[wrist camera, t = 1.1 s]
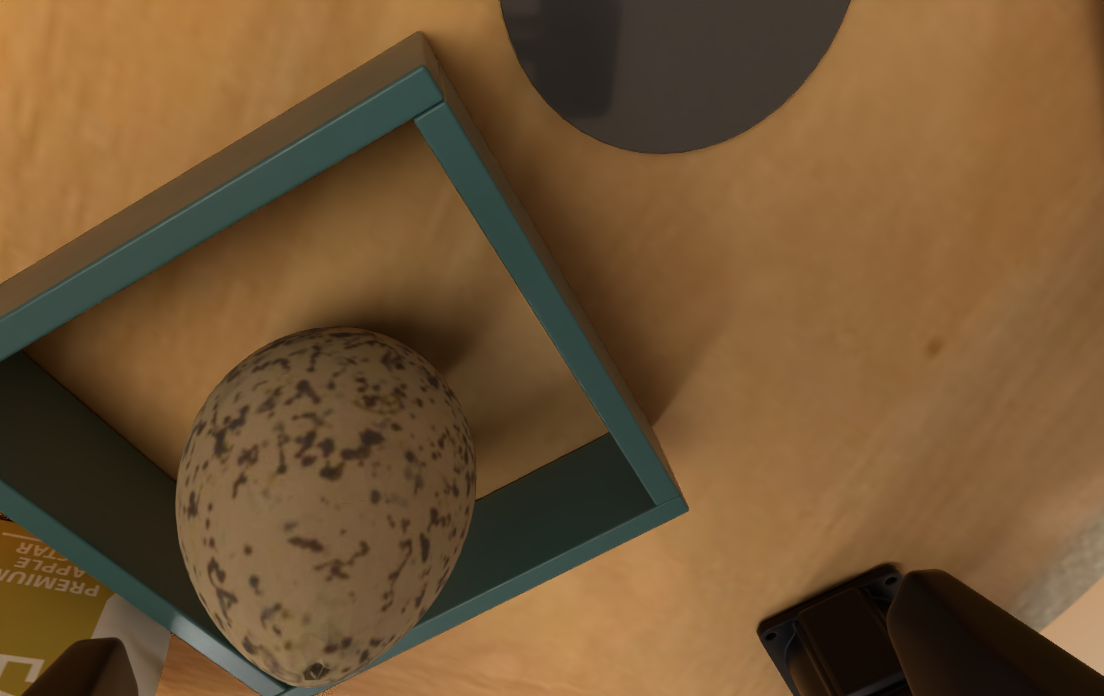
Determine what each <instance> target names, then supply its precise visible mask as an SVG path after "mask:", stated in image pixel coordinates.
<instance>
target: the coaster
mask: <svg viewBox="0 0 1104 696" xmlns="http://www.w3.org/2000/svg"><path fill="white" fill-rule="evenodd" d="M498 1H499V7H500V12H501V16H502V20H503V23H504V26H505V30H506V33H507V36H508V40H509V42H510V44H511V46H512V49H513V51H514V53H515V55H516V58H517V60H518V62H519V64H520V65H521V67H522V69H523V70H524V72H525V74H526V75H527V77H528V79H529V80H530V82H531V84H532V85H533V86H534V88H535V89H536V90H537V91H538V93H539V94H540V95H541V96H542V98H543V99H544V100H545V101H546V103H547V104H548V105H549V106H550V107H551V108H552V109H554V110H555V111H556V112H557V113H558V114H559V115H560V116H561V117H562V118H563V119H564V120H566V121H567V122H568V123H570V124H571V125H573V126H574V127H575V128H577V129H578V130H580V131H581V132H583V133H585V134H587V135H589V136H591V137H592V138H594V139H596V140H598V141H600V142H603V143H606V144H609V145H611V146H614V147H617V148H620V149H625V150H630V151H635V152H639V153H653V154H669V153H682V152H687V151H692V150H697V149H702V148H706V147H709V146H711V145H714V144H717V143H720V142H723V141H726V140H728V139H730V138H732V137H734V136H736V135H738V134H740V133H742V132H744V131H746V130H748V129H749V128H751V127H752V126H754V125H756V124H757V123H759V122H760V121H762V120H763V119H765V118H766V117H767V116H769V115H770V114H771V113H772V112H774V111H775V110H776V109H777V108H779V107H780V106H781V105H782V104H783V103H784V102H785V101H786V100H787V99H788V98H789V97H790V96H791V95H792V94H793V93H794V92H795V91H796V90H797V89H798V88H799V87H800V86H801V85H802V84H803V83H804V81H805V80H806V79H807V78H808V76H809V75H810V74H811V73H812V72H813V70H814V69H815V68H816V66H817V65H818V63H819V62H820V60H821V59H822V57H823V56H824V54H825V53H826V51H827V50H828V48H829V46H830V44H831V42H832V41H833V39H834V37H835V35H836V33H837V31H838V29H839V27H840V25H841V23H842V20H843V18H844V15H845V13H846V11H847V8H848V6H849V3H850V1H851V0H498Z"/></svg>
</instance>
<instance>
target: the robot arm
mask: <svg viewBox="0 0 1104 696" xmlns="http://www.w3.org/2000/svg"><path fill="white" fill-rule="evenodd" d="M757 634H758V636H759V639H760V641H761V642H762V644H763V646H764V647H765V649H766V651H767V652H768V654H769V656H770V657H771V659H772V661H773V662H774V664H775V666H776V667H777V669H778V671H779V672H780V674H781V676H782V677H783V679H784V681H785V682H786V684H787V685H788V687H789V689H790V690H791V692H792V694H793V695H794V696H1104V676H1102V675H1101V674H1100V673H1098V672H1096V671H1095V670H1094V669H1092V668H1091V667H1089V666H1087V665H1086V664H1085V663H1083V662H1081V661H1080V660H1078V659H1077V658H1075V657H1074V656H1072V655H1071V654H1069V653H1068V652H1066V651H1065V650H1063V649H1062V648H1060V647H1059V646H1057V645H1056V644H1054V643H1053V642H1051V641H1050V640H1048V639H1047V638H1045V637H1044V636H1042V635H1040V634H1039V633H1038V632H1036V631H1035V630H1033V629H1032V628H1030V627H1029V626H1027V625H1026V624H1024V623H1023V622H1021V621H1020V620H1018V619H1017V618H1015V617H1014V616H1012V615H1011V614H1009V613H1008V612H1006V611H1005V610H1003V609H1001V608H1000V607H998V606H997V605H995V604H994V603H992V602H991V601H989V600H988V599H986V598H985V597H983V596H982V595H980V594H979V593H977V592H976V591H974V590H973V589H971V588H970V587H968V586H967V585H965V584H964V583H962V582H961V581H959V580H958V579H956V578H955V577H953V576H952V575H950V574H948V573H947V572H945V571H942V570H939V569H928V570H916V571H911V572H909V573H907V574H906V575H905V576H904V578H902V576H901V574H900V573H899V571H898V570H897V569H896V567H895V566H892V565H890V566H885V567H882V568H880V569H878V570H876V571H874V572H872V573H869V574H867V575H865V576H863V577H861V578H859V579H857V580H854V581H852V582H850V583H848V584H846V585H844V586H842V587H839V588H837V589H835V590H833V591H831V592H829V593H827V594H824V595H822V596H820V597H818V598H816V599H814V600H812V601H810V602H807V603H805V604H803V605H801V606H799V607H797V608H795V609H792V610H790V611H788V612H786V613H784V614H782V615H780V616H777V617H775V618H773V619H771V620H769V621H767V622H765V623H763V624H761V625H760V626H759V627H758V629H757ZM20 696H138V685H137V682H136V679H135V676H134V673H133V670H132V667H131V664H130V661H129V658H128V655H127V652H126V649H125V646H124V644H123V642H122V641H121V640H120V639H119V638H117V637H107V638H95V639H84V640H79V641H77V642H75V643H73V644H72V645H70V646H69V647H68V648H67V649H66V650H65V651H64V652H63V653H62V654H61V655H60V656H59V657H58V658H57V659H56V660H55V661H54V662H53V663H52V664H51V665H50V666H49V667H48V668H47V669H46V670H45V671H44V672H43V673H42V674H41V675H40V676H39V677H38V678H37V679H36V680H35V681H34V682H33V683H32V684H31V685H30V686H29V687H28V688H27V689H26V690H25V691H24V692H23V693H22V694H21V695H20Z"/></svg>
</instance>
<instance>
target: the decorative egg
mask: <svg viewBox="0 0 1104 696" xmlns="http://www.w3.org/2000/svg"><path fill="white" fill-rule="evenodd" d="M475 491H476V457H475V449H474V444H473V440H472V436H471V433H470V429H469V426H468V422H467V419H466V417H465V415H464V412H463V410H462V408H461V405H460V403H459V402H458V400H457V398H456V396H455V394H454V393H453V391H452V390H451V388H450V387H449V385H448V384H447V383H446V381H445V380H444V378H443V377H442V376H441V375H440V374H439V373H438V371H437V370H436V369H435V368H434V367H433V366H432V365H431V364H430V363H429V362H428V361H426V360H425V359H424V358H423V357H422V356H421V355H419V354H418V353H417V352H415V351H414V350H412V349H411V348H410V347H408V346H406V345H404V344H402V343H400V342H399V341H397V340H395V339H393V338H390V337H388V336H385V335H382V334H380V333H376V332H373V331H368V330H364V329H359V328H351V327H328V328H314V329H310V330H305V331H301V332H297V333H294V334H291V335H288V336H285V337H282V338H280V339H278V340H276V341H273V342H271V343H269V344H267V345H266V346H264V347H262V348H260V349H258V350H257V351H255V352H254V353H253V354H251V355H250V356H248V357H247V358H246V359H244V360H243V361H242V362H241V363H239V364H238V365H237V366H236V367H235V368H234V369H233V370H231V371H230V372H229V373H228V374H227V375H226V376H225V377H224V378H223V379H222V381H221V382H220V383H219V384H218V385H217V386H216V388H215V389H214V390H213V391H212V393H211V394H210V395H209V397H208V398H207V400H206V401H205V403H204V405H203V406H202V408H201V410H200V411H199V413H198V415H197V417H196V419H195V421H194V423H193V425H192V428H191V430H190V433H189V435H188V438H187V441H186V444H185V447H184V450H183V453H182V457H181V462H180V466H179V470H178V477H177V486H176V501H175V507H176V509H175V513H176V522H177V531H178V539H179V545H180V550H181V553H182V557H183V560H184V563H185V566H186V569H187V571H188V574H189V577H190V579H191V582H192V584H193V586H194V588H195V590H196V592H197V595H198V597H199V599H200V601H201V603H202V604H203V606H204V608H205V609H206V611H207V613H208V614H209V616H210V617H211V619H212V621H213V622H214V623H215V625H216V626H217V627H218V628H219V630H220V631H221V632H222V633H223V635H224V636H225V637H226V638H227V639H228V640H229V641H230V643H231V644H232V645H233V646H234V647H235V648H236V649H237V650H238V651H239V652H240V653H241V654H242V655H243V656H245V657H246V658H247V659H248V660H249V661H250V662H252V663H253V664H254V665H256V666H257V667H258V668H260V669H261V670H263V671H264V672H266V673H267V674H269V675H271V676H272V677H274V678H276V679H278V680H280V681H282V682H285V683H287V684H289V685H292V686H298V687H305V688H312V687H320V686H329V685H332V684H335V683H337V682H340V681H342V680H344V679H347V678H349V677H351V676H353V675H355V674H356V673H358V672H359V671H361V670H362V669H364V668H366V667H367V666H369V665H370V664H372V663H373V662H374V661H375V660H377V659H378V658H379V657H380V656H382V655H383V654H384V653H386V652H387V651H388V650H390V649H391V648H392V647H393V646H395V645H396V644H397V643H398V642H399V641H400V640H401V639H402V638H404V636H405V635H406V634H407V633H408V632H409V631H410V630H411V629H412V628H413V627H414V626H415V625H416V624H417V622H418V621H419V620H420V619H421V618H422V616H423V615H424V614H425V613H426V611H427V610H428V609H429V607H430V606H431V605H432V603H433V602H434V601H435V599H436V598H437V596H438V595H439V593H440V591H441V590H442V588H443V587H444V585H445V583H446V581H447V579H448V578H449V576H450V574H451V572H452V570H453V568H454V566H455V564H456V562H457V560H458V557H459V555H460V553H461V550H462V547H463V545H464V542H465V539H466V537H467V533H468V530H469V527H470V524H471V518H472V513H473V508H474V502H475Z"/></svg>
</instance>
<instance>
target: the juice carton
mask: <svg viewBox="0 0 1104 696" xmlns="http://www.w3.org/2000/svg"><path fill="white" fill-rule="evenodd" d="M170 634H171V632H170V631H169V630H167V629H166V628H164V627H163V626H162V625H160V624H159V623H157V622H156V621H155V620H153V619H152V618H150V617H149V616H147V615H146V614H145V613H143V612H142V611H140V610H139V609H137V608H136V607H135V606H133V605H132V604H130V603H129V602H128V601H126V600H125V599H123V598H122V597H120V596H119V595H118V594H116V593H115V592H113V591H112V590H111V589H109V588H108V587H106V586H105V585H103V584H102V583H101V582H99V581H98V580H96V579H95V578H94V577H92V576H91V575H89V574H88V573H86V572H85V571H84V570H82V569H81V568H79V567H78V566H76V565H75V564H74V563H72V562H71V561H69V560H68V559H67V558H65V557H64V556H62V555H61V554H59V553H58V552H57V551H55V550H54V549H52V548H51V547H50V546H48V545H47V544H45V543H44V542H42V541H41V540H40V539H38V538H37V537H35V536H34V535H32V534H31V533H30V532H28V531H27V530H25V529H24V528H23V527H21V526H20V525H18V524H17V523H15V522H10V521H5V520H0V696H20V695H21V694H22V693H23V692H24V691H25V690H26V689H27V688H28V687H29V686H30V685H31V684H32V683H33V682H34V681H35V680H36V679H37V678H38V677H39V676H40V675H41V674H42V673H43V672H44V671H45V670H46V669H47V668H48V667H49V666H50V665H51V664H52V663H53V662H54V661H55V660H56V659H57V658H58V657H59V656H60V655H61V654H62V653H63V652H64V651H65V650H66V649H67V648H68V647H69V646H70V645H72V644H73V643H75V642H77V641H79V640H84V639H95V638H107V637H117V638H119V639H120V640H121V641H122V642H123V644H124V646H125V649H126V652H127V655H128V658H129V661H130V664H131V667H132V670H133V673H134V676H135V679H136V682H137V685H138V696H155V694H156V691H157V687H158V684H159V681H160V677H161V674H162V670H163V667H164V664H165V660H166V657H167V653H168V649H169V642H170Z"/></svg>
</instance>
